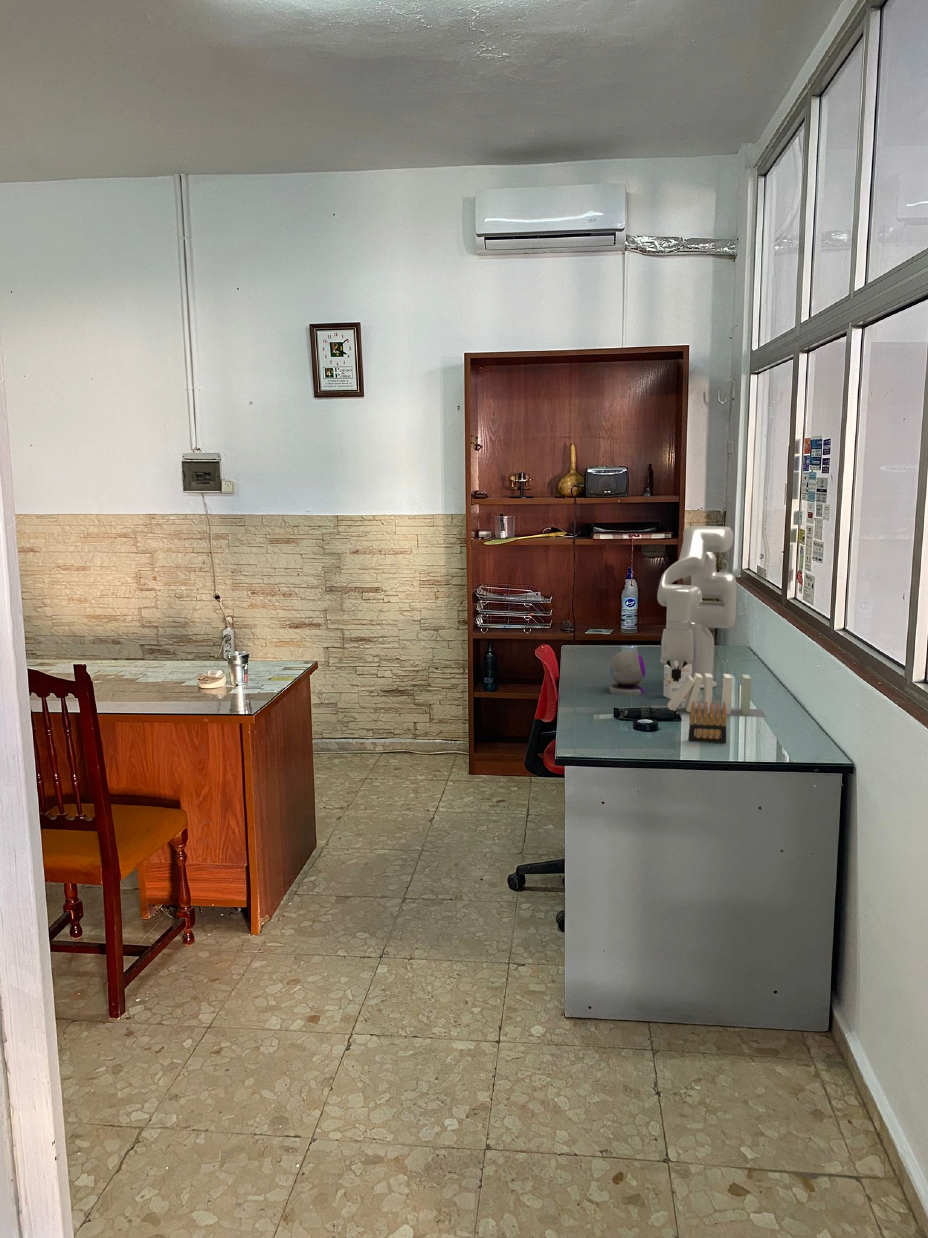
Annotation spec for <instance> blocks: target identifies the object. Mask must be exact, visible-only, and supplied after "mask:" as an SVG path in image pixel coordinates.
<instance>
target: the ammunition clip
mask: <svg viewBox="0 0 928 1238" xmlns="http://www.w3.org/2000/svg"><path fill="white" fill-rule="evenodd" d="M695 707H697V714H696V715H695ZM701 707H702V702H701V701H700V700H699V701H698V703H697V706H696V703H694V701H693V702H692V705H691V713H690V714H689V728H688V742H692V743H693V742H694V743H695V742H696V743H713V744H714V743H715V744H717V743H718V744H727V720H728V717H727V716H726V704H725V702H724V703H723V707H722V706H721V705H720V702H719V701H718V702H717V703H716V706H714V703H713V701H712V702H711V705H710V711H709V715H708V706H707V702H705V704H704V710H703V715H702V714H701ZM714 708H716V713H715V715H714ZM720 708H722V715H720Z"/></svg>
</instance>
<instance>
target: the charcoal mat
mask: <svg viewBox="0 0 928 1238" xmlns="http://www.w3.org/2000/svg"><path fill="white" fill-rule="evenodd" d="M697 707H698V706H695V715H696V714H697ZM651 708H668V705H650V709H651ZM675 711H676V714H675V715H690V713H691V712H688V711H686V709H685V706H680V705H679V706H678V707H677V708H676V710H675ZM715 713H716V707H714V716H715ZM701 714H702V716H703V706H701ZM721 715H722V707H720V716H721ZM708 716H709V713H708ZM726 716H728V717H751V718H767V715H766V714H765V713H764V711H763V710H762V709H760V708H759V709H757V708H750V715H743V714H742V712H741V711H740V708H735V707H733V708H732V707H731V714H726Z"/></svg>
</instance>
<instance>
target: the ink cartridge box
mask: <svg viewBox="0 0 928 1238" xmlns="http://www.w3.org/2000/svg"><path fill="white" fill-rule="evenodd" d="M674 664H675V667H676V669H677V667H678V664H679V661H677V660H674ZM671 672H672V669H671V668H670V667H669V666H668V665H667V664H663V695H662V696H664V697H666V698H667V699H670V700H671V698H672V697H673V696H674V694H675V693H676V691H677V690H678V688H679V687H680V686H681V684H682V683H683V681H684V680H685V679H686V677H687V676H688V675H689V676H690V677H692V666H691V664H688V665H686V666H685V667H683V668H682V670H681V679H679V682H677V681H675V682H674V681H673V679H671ZM689 691H690V690H689ZM688 694H689V692H688V693H687V694H686V696H685V697H684V699H685V698H686V699H687V697H688Z"/></svg>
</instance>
